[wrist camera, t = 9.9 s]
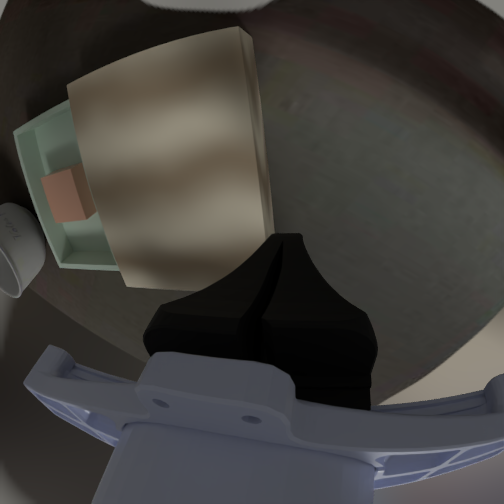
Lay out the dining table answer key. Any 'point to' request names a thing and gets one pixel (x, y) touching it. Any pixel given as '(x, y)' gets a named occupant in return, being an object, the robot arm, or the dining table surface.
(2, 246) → the teacup
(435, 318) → the dining table surface
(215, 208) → the beige banded block
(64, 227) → the box
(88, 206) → the tile
